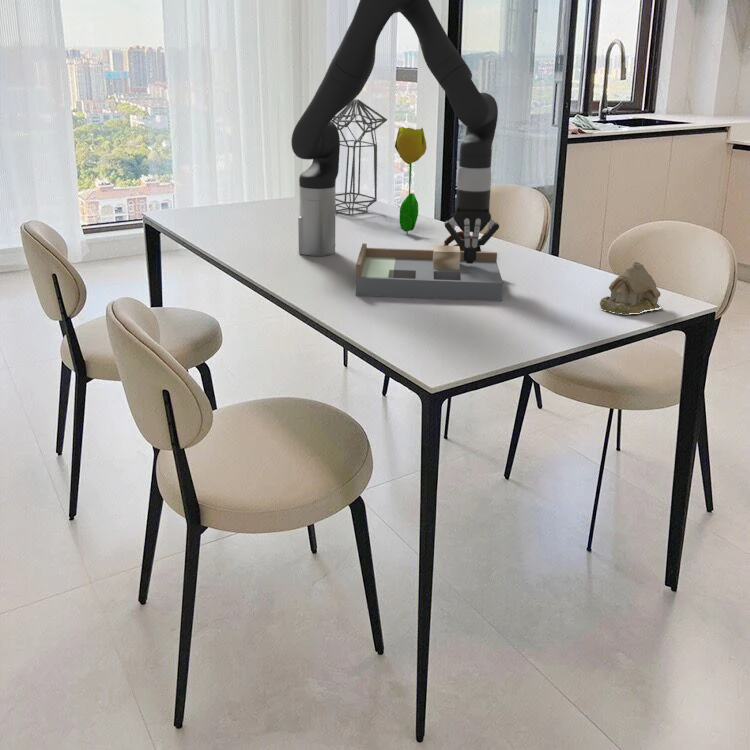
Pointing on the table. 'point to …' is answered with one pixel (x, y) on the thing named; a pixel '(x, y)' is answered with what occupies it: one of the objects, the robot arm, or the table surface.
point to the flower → (410, 150)
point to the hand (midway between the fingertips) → (469, 262)
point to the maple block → (446, 257)
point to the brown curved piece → (457, 244)
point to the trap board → (426, 275)
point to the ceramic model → (632, 292)
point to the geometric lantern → (342, 114)
